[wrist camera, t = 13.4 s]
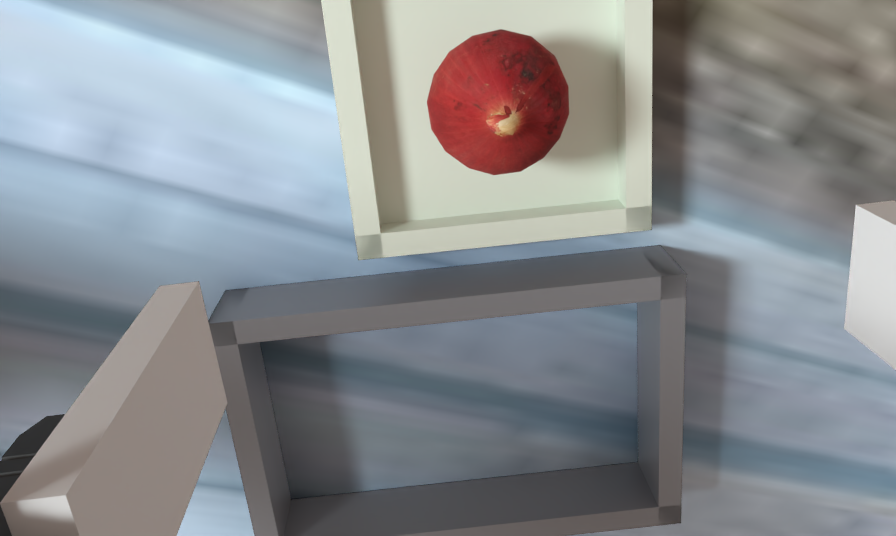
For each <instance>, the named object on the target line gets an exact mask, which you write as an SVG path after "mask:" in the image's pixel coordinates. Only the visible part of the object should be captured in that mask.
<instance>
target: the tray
mask: <svg viewBox="0 0 896 536" xmlns="http://www.w3.org/2000/svg"><path fill="white" fill-rule="evenodd" d="M321 3H322V10H323V17H324V24H325V30H326V37H327V44H328V51H329V58H330V65H331V72H332V79H333V86H334V93H335V100H336V107H337V114H338V121H339V128H340V135H341V142H342V149H343V156H344V163H345V170H346V177H347V184H348V191H349V198H350V205H351V212H352V219H353V226H354V233H355V240H356V247H357V254H358V260H365V259H375V258H385V257H394V256H404V255H414V254H423V253H433V252H442V251H452V250H462V249H471V248H481V247H491V246H500V245H510V244H520V243H529V242H539V241H549V240H558V239H568V238H578V237H587V236H597V235H607V234H616V233H626V232H636V231H645V230H652V7H653V0H321ZM500 29H503V30H507V31H511V32H516V33H520V34H524V35H528V36H532V37H533V38H534V39H535V40H536V41H538V42H539V43H540V44H541V45H543V46H544V47H545V48H546V49H547V50H549V51H550V52H551V53H552V54H553V55H555V57H556V59H557V61H558V63H559V66H560V68H561V70H562V73H563V75H564V77H565V79H566V82H567V84H568V87H569V116H568V119H567V121H566V124H565V126H564V129H563V132H562V134H561V137H560V139H559V140H558V141H557V142H556V144H555V145H554V146H553V147H552V149H551V150H550V151H549V152H548V153H547V155H546V156H545V157H544V158H543V159H541V160H540V161H538V162H536V163H534V164H533V165H531V166H529V167H528V168H526V169H524V170H523V171H521V172H514V173H507V174H500V175H491V174H488V173H484V172H481V171H477V170H473V169H470V168H468V167H466V166H465V165H463V164H462V163H461V162H459V161H458V160H456V159H455V158H454V157H452V156H451V155H450V154H448V153H447V152H445V150H444V148H443V147H442V145H441V144H440V142H439V141H438V139H437V137H436V136H435V134H434V133H433V131H432V130H431V125H430V119H429V112H428V106H427V99H428V95H429V91H430V87H431V83H432V79H433V75H434V73H435V72H436V70H437V69H438V67H439V66H440V64H441V63H442V61H443V60H444V59H445V57H446V56H447V54H448V53H449V51H451V50H452V49H454V48H455V47H457V46H458V45H460V44H461V43H462V42H464V41H465V40H467V39H468V38H470V37H471V36H473V35H478V34H482V33H486V32H491V31H495V30H500Z"/></svg>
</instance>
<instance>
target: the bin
mask: <svg viewBox="0 0 896 536" xmlns="http://www.w3.org/2000/svg"><path fill="white" fill-rule="evenodd" d="M636 302H637V372H638V462H635V463H625V464H616V465H607V466H598V467H588V468H579V469H570V470H560V471H551V472H542V473H533V474H523V475H514V476H505V477H495V478H486V479H477V480H468V481H458V482H449V483H440V484H430V485H421V486H412V487H403V488H393V489H384V490H375V491H365V492H356V493H347V494H338V495H328V496H319V497H310V498H300V499H291V495H290V490H289V485H288V480H287V475H286V471H285V466H284V461H283V456H282V451H281V446H280V441H279V436H278V431H277V426H276V421H275V416H274V411H273V406H272V401H271V396H270V391H269V386H268V381H267V376H266V371H265V366H264V361H263V356H262V351H261V346H260V342H264V341H274V340H283V339H293V338H302V337H312V336H322V335H331V334H341V333H350V332H360V331H369V330H379V329H388V328H398V327H407V326H417V325H426V324H436V323H445V322H455V321H465V320H474V319H484V318H493V317H503V316H512V315H522V314H531V313H541V312H550V311H560V310H569V309H579V308H589V307H598V306H608V305H617V304H627V303H636ZM685 311H686V273H685V272H684V271H683V270H682V269H681V267H680V266H679V265H678V264H677V263H676V262H675V261H674V260H673V259H672V257H671V256H670V255H669V254H668V253H667V252H666V251H665V250H664V249H663V248H662V246H661V245H657V246H647V247H638V248H628V249H618V250H609V251H599V252H589V253H580V254H570V255H561V256H551V257H541V258H532V259H522V260H512V261H503V262H493V263H484V264H474V265H464V266H455V267H445V268H435V269H426V270H416V271H407V272H397V273H387V274H378V275H368V276H358V277H349V278H339V279H330V280H320V281H310V282H301V283H291V284H281V285H272V286H262V287H253V288H243V289H233V290H225V292H224V294H223V295H222V297H221V299H220V301H219V303H218V304H217V306H216V308H215V310H214V312H213V313H212V315H211V317H210V319H209V321H208V322H209V327H210V331H211V335H212V339H213V344H214V348H215V352H216V356H217V361H218V365H219V369H220V373H221V378H222V382H223V386H224V390H225V395H226V399H227V405H226V411H227V416H228V420H229V425H230V429H231V433H232V438H233V442H234V447H235V451H236V455H237V460H238V464H239V469H240V473H241V478H242V482H243V486H244V491H245V495H246V500H247V504H248V508H249V513H250V517H251V522H252V526H253V530H254V535H255V536H566V535H575V534H585V533H594V532H603V531H612V530H621V529H631V528H640V527H649V526H658V525H667V524H676V523H681V494H682V448H683V403H684V357H685Z"/></svg>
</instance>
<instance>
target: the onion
mask: <svg viewBox="0 0 896 536" xmlns="http://www.w3.org/2000/svg"><path fill="white" fill-rule="evenodd" d="M427 106H428V112H429V119H430V125H431V130H432V131H433V133H434V134H435V136H436V137H437V139H438V141H439V142H440V144H441V145H442V147H443V148H444V150H445V152H447V153H448V154H450V155H451V156H452V157H454V158H455V159H456V160H458V161H459V162H461V163H462V164H463V165H465V166H466V167H468V168H470V169H473V170H477V171H481V172H484V173H488V174H491V175H500V174H507V173H514V172H521V171H523V170H524V169H526V168H528V167H529V166H531V165H533V164H534V163H536V162H538V161H540V160H541V159H543V158H544V157H545V156H546V155H547V153H548V152H549V151H550V150H551V149H552V147H553V146H554V145H555V144H556V142H557V141H558V140H559V139H560V137H561V134H562V132H563V129H564V126H565V124H566V121H567V119H568V116H569V87H568V84H567V82H566V79H565V77H564V75H563V73H562V70H561V68H560V66H559V63H558V61H557V59H556V57H555V55H553V54H552V53H551V52H550V51H549V50H547V49H546V48H545V47H544V46H543V45H541V44H540V43H539V42H538V41H536V40H535V39H534V38H533V37H532V36H528V35H524V34H520V33H516V32H511V31H507V30H503V29H500V30H495V31H491V32H486V33H482V34H478V35H473V36H471V37H470V38H468V39H467V40H465V41H464V42H462V43H461V44H460V45H458V46H457V47H455V48H454V49H452V50H451V51H449V53H448V54H447V56H446V57H445V59H444V60H443V61H442V63H441V64H440V66H439V67H438V69H437V70H436V72H435V73H434V75H433V79H432V83H431V87H430V91H429V95H428V99H427Z"/></svg>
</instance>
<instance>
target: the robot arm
mask: <svg viewBox="0 0 896 536" xmlns="http://www.w3.org/2000/svg"><path fill="white" fill-rule="evenodd" d="M844 329H845V330H846V331H848V332H849V333H850V334H851V335H853V336H854V337H855V338H856V339H857V340H859V341H860V342H861V343H862V344H864V345H865V346H866V347H867V348H869V349H870V350H871V351H872V352H874V353H875V354H876V355H877V356H879V357H880V358H881V359H882V360H884V361H885V362H886V363H887V364H888V365H890V366H891V367H892V368H893V369H895V370H896V201H886V202H877V203H868V204H860V205H856V210H855V221H854V231H853V242H852V252H851V263H850V273H849V283H848V294H847V304H846V315H845V325H844ZM226 405H227V399H226V395H225V390H224V386H223V382H222V378H221V373H220V369H219V365H218V361H217V356H216V352H215V348H214V344H213V339H212V335H211V331H210V327H209V322H208V318H207V314H206V310H205V305H204V301H203V297H202V293H201V288H200V284H199V281H198V282H189V283H181V284H172V285H164V286H159V288H158V289H157V290H156V292H155V293H154V294H153V296H152V297H151V298H150V300H149V301H148V303H147V304H146V305H145V307H144V308H143V309H142V311H141V312H140V313H139V315H138V316H137V317H136V319H135V320H134V322H133V323H132V324H131V326H130V327H129V328H128V330H127V331H126V332H125V334H124V335H123V336H122V338H121V339H120V341H119V342H118V343H117V345H116V346H115V347H114V349H113V350H112V351H111V353H110V354H109V356H108V357H107V358H106V360H105V361H104V362H103V364H102V365H101V366H100V368H99V369H98V370H97V372H96V373H95V375H94V376H93V377H92V379H91V380H90V381H89V383H88V384H87V385H86V387H85V388H84V389H83V391H82V392H81V394H80V395H79V396H78V398H77V399H76V400H75V402H74V403H73V404H72V406H71V407H70V409H69V410H68V411H67V413H66V414H63V415H54V416H46V417H45V418H44V419H42V420H41V421H39V422H38V423H37V424H35V425H34V426H32V427H31V428H30V429H28V430H27V431H25V432H24V433H23V434H21V435H20V436H19V437H18V438H17V439H16V440H15V442H14V443H13V444H12V445H11V447H10V448H9V449H8V450H7V452H6V453H5V454H4V455H3V457H2V461H0V536H176V535H177V533H178V530H179V528H180V525H181V522H182V520H183V517H184V515H185V512H186V509H187V507H188V504H189V502H190V499H191V496H192V494H193V491H194V489H195V486H196V483H197V481H198V478H199V475H200V473H201V470H202V468H203V465H204V462H205V460H206V457H207V455H208V452H209V449H210V447H211V444H212V442H213V439H214V436H215V434H216V431H217V429H218V426H219V423H220V421H221V418H222V416H223V413H224V410H225V408H226Z"/></svg>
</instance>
